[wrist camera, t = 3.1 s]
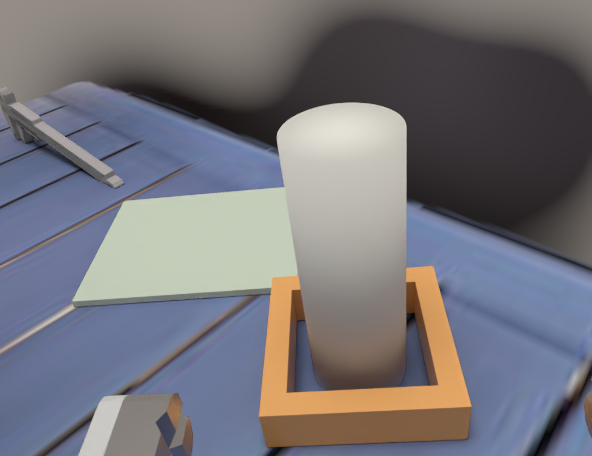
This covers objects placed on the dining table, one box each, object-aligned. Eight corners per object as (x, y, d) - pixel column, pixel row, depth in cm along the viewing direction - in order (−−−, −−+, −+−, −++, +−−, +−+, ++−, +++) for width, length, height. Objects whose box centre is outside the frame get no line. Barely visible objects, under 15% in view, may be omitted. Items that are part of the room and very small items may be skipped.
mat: (74, 306, 35) (71, 301, 35) (126, 206, 45) (124, 201, 45) (297, 291, 34) (296, 285, 34) (301, 190, 44) (300, 185, 43)
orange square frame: (267, 447, 25) (259, 416, 24) (278, 307, 33) (272, 277, 32) (467, 439, 25) (471, 406, 23) (431, 297, 32) (432, 266, 31)
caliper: (16, 141, 60) (-10, 88, 56) (25, 137, 60) (0, 84, 57) (116, 192, 48) (92, 128, 44) (126, 186, 48) (103, 123, 45)
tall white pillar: (313, 405, 27) (272, 167, 19) (313, 332, 31) (280, 109, 23) (412, 401, 27) (415, 154, 18) (399, 326, 31) (397, 97, 22)
